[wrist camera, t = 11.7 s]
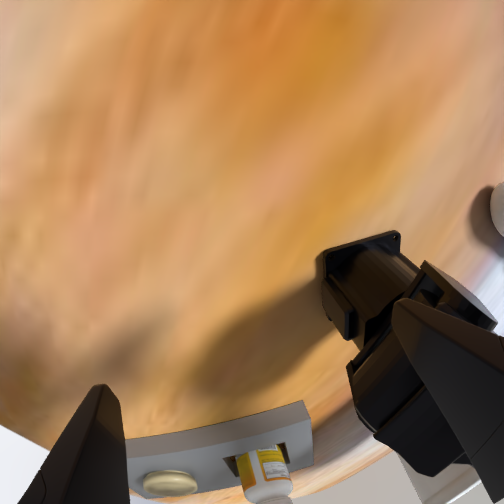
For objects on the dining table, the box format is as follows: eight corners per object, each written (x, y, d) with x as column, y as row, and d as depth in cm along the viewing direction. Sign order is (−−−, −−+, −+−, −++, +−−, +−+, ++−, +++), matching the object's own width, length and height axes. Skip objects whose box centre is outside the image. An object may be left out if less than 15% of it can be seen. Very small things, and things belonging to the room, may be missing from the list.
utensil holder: (373, 425, 38) (425, 520, 23) (353, 380, 31) (429, 515, 16) (455, 370, 38) (518, 451, 23) (460, 308, 30) (555, 411, 15)
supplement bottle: (241, 457, 34) (259, 522, 26) (226, 442, 32) (243, 516, 23) (281, 444, 35) (304, 509, 26) (270, 428, 32) (295, 501, 23)
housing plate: (302, 399, 30) (315, 430, 27) (308, 450, 37) (317, 473, 34) (93, 442, 28) (91, 471, 24) (145, 484, 35) (147, 507, 31)
